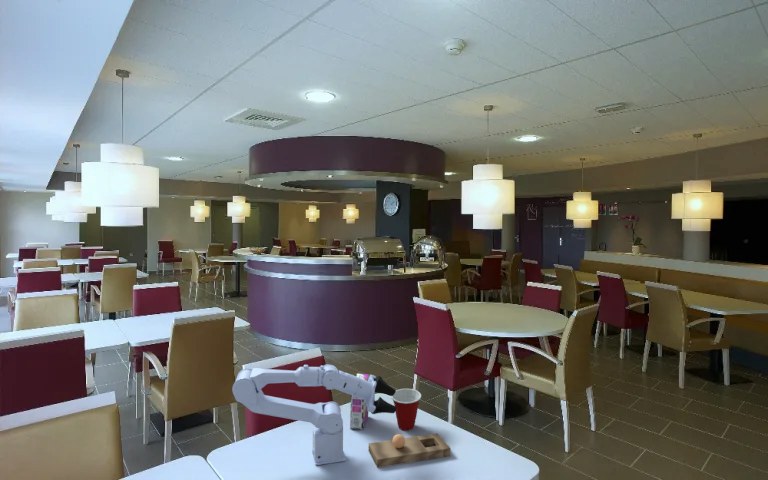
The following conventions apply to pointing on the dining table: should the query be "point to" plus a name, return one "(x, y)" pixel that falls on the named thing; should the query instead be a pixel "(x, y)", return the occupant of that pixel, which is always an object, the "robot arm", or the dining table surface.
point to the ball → (398, 441)
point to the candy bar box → (358, 409)
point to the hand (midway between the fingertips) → (394, 401)
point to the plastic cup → (406, 407)
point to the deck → (408, 450)
